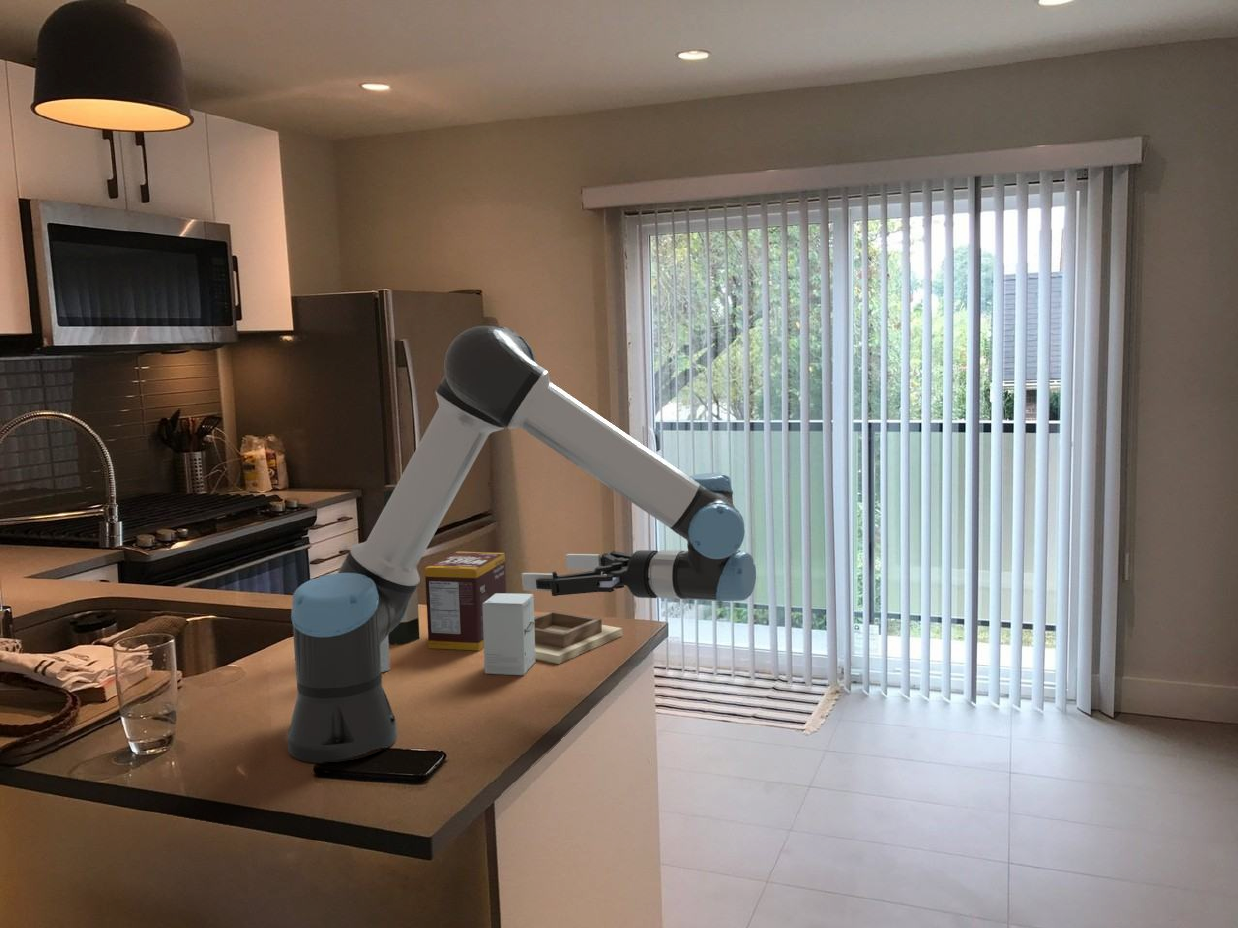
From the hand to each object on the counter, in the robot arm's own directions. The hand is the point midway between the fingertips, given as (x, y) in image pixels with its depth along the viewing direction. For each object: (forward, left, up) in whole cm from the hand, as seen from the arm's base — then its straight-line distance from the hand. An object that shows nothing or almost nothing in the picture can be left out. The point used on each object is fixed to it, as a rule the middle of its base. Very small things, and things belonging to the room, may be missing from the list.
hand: (546, 571), depth 168 cm
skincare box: (-13, +29, -18) cm, 37 cm away
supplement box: (+10, +27, -18) cm, 34 cm away
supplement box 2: (0, +8, -18) cm, 20 cm away
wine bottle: (+3, +39, -18) cm, 44 cm away
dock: (+16, +10, -18) cm, 26 cm away
